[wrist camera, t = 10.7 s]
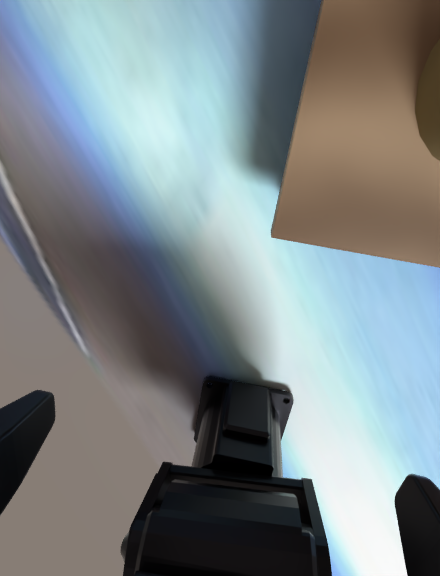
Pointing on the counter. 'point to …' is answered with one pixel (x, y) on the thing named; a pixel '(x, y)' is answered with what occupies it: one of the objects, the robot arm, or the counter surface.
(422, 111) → the cork
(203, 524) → the robot arm
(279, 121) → the counter surface
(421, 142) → the shelf board
